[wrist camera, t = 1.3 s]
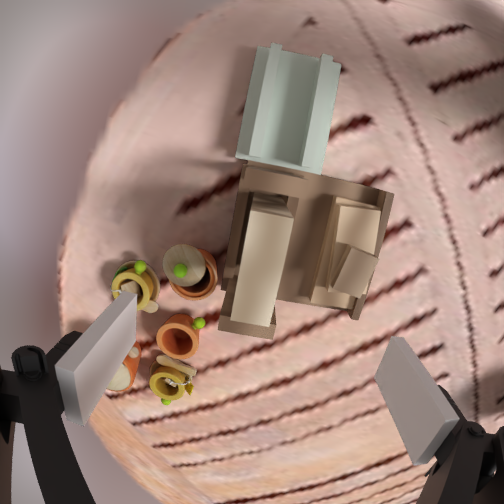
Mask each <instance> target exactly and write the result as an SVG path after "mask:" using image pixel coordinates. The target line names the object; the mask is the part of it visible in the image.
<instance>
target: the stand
mask: <svg viewBox="0 0 504 504" xmlns="http://www.w3.org/2000/svg"><path fill="white" fill-rule="evenodd" d="M281 49H282V44H276V43H271V46H270V48H267V47H261V46H258V47H257V51H256V56H255V60H254V65H253V70H252V75H251V79H250V84H249V89H248V94H247V99H246V104H245V109H244V114H243V119H242V124H241V129H240V134H239V139H238V144H237V150H236V155H235V158H239V159H245V160H251V161H256V162H261V163H266V164H272V165H277V166H282V167H286V168H291V169H296V170H301V171H305V172H310V173H314V174H319V175H321V172H322V167H323V162H324V157H325V152H326V147H327V142H328V137H329V132H330V126H331V121H332V115H333V110H334V104H335V99H336V93H337V87H338V81H339V75H340V69H341V64H340V63H336V62H333V56H331V55H327V54H322V55H321V57H320V58H316V57H312V56H308V55H303V54H299V53H294V52H289V51H284V50H281Z"/></svg>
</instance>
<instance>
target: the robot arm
mask: <svg viewBox="0 0 504 504" xmlns="http://www.w3.org/2000/svg"><path fill="white" fill-rule="evenodd" d="M136 315H137V294H134V293H130V292H126V291H123V292H122V293H121V294H120V295H119V296H118V297H117V298H116V299H115V300H114V301H113V302H112V303H111V304H110V305H109V306H108V307H107V308H106V309H105V311H104V312H103V313H102V314H101V315H100V316H99V317H98V318H97V319H96V320H95V321H94V322H93V323H92V324H91V326H90V327H89V328H88V329H87V330H86V331H85V332H84V333H80V332H77V331H73V332H71V333H69V334H67V335H65V336H64V337H63V338H62V339H61V340H60V341H59V343H57V344H56V345H55V346H54V348H52V349H51V350H50V351H49V352H48V353H47V354H46V355H45V353H44V351H43V350H42V349H41V348H39V347H36V346H28V345H27V346H22V347H20V348H18V349H16V350H15V351H14V352H13V353H12V357H11V358H12V362H13V366H14V370H15V372H13V371H8V370H2V369H1V367H0V504H11V472H12V455H13V441H14V432H15V423H16V422H18V423H22V424H24V428H25V433H26V438H27V442H28V446H29V450H30V454H31V458H32V462H33V466H34V469H35V473H36V476H37V480H38V483H39V486H40V489H41V492H42V495H43V498H44V501H45V504H96V503H95V501H94V499H93V497H92V495H91V493H90V490H89V488H88V486H87V484H86V481H85V479H84V477H83V475H82V472H81V470H80V467H79V465H78V463H77V460H76V457H75V455H74V452H73V450H72V447H71V444H70V441H69V439H68V436H67V433H66V430H65V427H64V424H63V421H62V418H61V414H62V413H63V411H65V415H66V419H67V420H68V421H71V422H73V423H76V424H78V425H81V426H84V425H85V424H86V422H87V420H88V419H89V417H90V415H91V413H92V412H93V410H94V408H95V407H96V405H97V403H98V402H99V400H100V398H101V397H102V395H103V393H104V392H105V390H106V388H107V387H108V385H109V383H110V382H111V380H112V378H113V377H114V375H115V374H116V372H117V370H118V369H119V367H120V365H121V364H122V362H123V361H124V359H125V357H126V356H127V354H128V353H129V351H130V349H131V348H132V346H133V345H134V343H135V342H136ZM374 379H375V381H376V383H377V385H378V387H379V389H380V391H381V394H382V396H383V398H384V400H385V402H386V404H387V407H388V409H389V411H390V413H391V415H392V418H393V420H394V422H395V424H396V427H397V429H398V431H399V433H400V436H401V438H402V440H403V442H404V445H405V447H406V449H407V452H408V454H409V456H410V459H411V461H412V463H413V465H421V464H427V463H428V462H429V461H430V459H431V458H432V457H433V456H434V454H435V456H436V458H437V461H436V462H435V464H434V465H433V466H432V467H431V468H430V470H429V471H428V472H427V473H426V475H425V477H427V476H428V474H429V476H428V479H427V481H426V483H425V486H424V488H423V490H422V492H421V494H420V497H419V499H418V501H417V503H416V504H504V426H502V427H500V428H499V430H498V431H497V433H496V434H489V433H486V432H485V430H484V428H483V427H482V426H481V425H479V424H478V423H475V422H472V421H470V422H467V420H466V419H465V417H464V416H463V414H462V413H461V411H460V410H459V408H458V407H457V405H455V402H454V401H453V399H451V396H450V395H449V394H448V392H447V391H446V390H445V389H444V388H442V387H441V386H440V385H437V384H436V382H435V381H434V380H433V378H432V377H431V375H430V374H429V372H428V371H427V369H426V368H425V367H424V365H423V364H422V362H421V361H420V360H419V358H418V357H417V355H416V354H415V353H414V351H413V350H412V348H411V347H410V346H409V344H408V343H407V342H406V340H405V339H404V337H395V336H391V339H390V341H389V344H388V346H387V349H386V351H385V353H384V356H383V358H382V361H381V363H380V365H379V367H378V370H377V372H376V374H375V376H374ZM495 470H496V473H495V475H494V471H495Z"/></svg>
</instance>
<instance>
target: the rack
mask: <svg viewBox="0 0 504 504" xmlns="http://www.w3.org/2000/svg"><path fill="white" fill-rule="evenodd" d="M254 192H257V193H262V194H267V195H272V196H277V197H282V199H283V200H284V202H285V204H286V206H287V207H288V209H289V211H290V213H291V214H292V216H293V218H294V221H293V226H292V231H291V235H290V240H289V244H288V249H287V253H286V258H285V262H284V266H283V271H282V275H281V279H280V284H279V288H278V292H277V297H276V300H283V301H289V302H295V303H301V304H307V305H313V306H319V307H326V308H332V309H338V310H345V311H347V312H348V314H349V316H350V318H351V319H353V320H359V317H360V314H361V311H362V308H363V305H364V302H365V299H366V296H367V293H368V290H369V286H370V283H371V280H372V277H373V273H374V270H375V267H376V265H377V263H378V261H379V259H378V256H379V253H380V249H381V246H382V242H383V238H384V234H385V231H386V227H387V223H388V219H389V215H390V211H391V206H392V202H393V198H394V194H393V193H390V192H386V191H383V190H379V189H375V188H372V187H368V186H364V185H360V184H356V183H352V182H348V181H344V180H340V179H336V178H332V177H327V176H323V175H319V174H314V173H310V172H305V171H301V170H296V169H291V168H286V167H282V166H277V165H272V164H266V163H261V162H256V161H251V160H248V163H247V164H243V167H242V172H241V177H240V183H239V188H238V194H237V199H236V205H235V210H234V216H233V221H232V227H231V233H230V238H229V244H228V250H227V256H226V262H225V267H224V273H223V279H222V285H221V290H224V291H226V294H225V298H224V302H223V306H222V309H221V313H220V318H219V324H218V330H220V331H226V332H231V333H237V334H242V335H248V336H254V337H260V338H266V339H272V340H273V336H274V332H275V328H276V316H275V305H274V309H273V313H272V317H271V322H270V326H269V327H266V326H260V325H254V324H248V323H243V322H237V321H232V320H230V319H231V313H232V308H233V303H234V297H235V292H236V286H237V281H238V275H239V270H240V265H241V259H242V254H243V249H244V243H245V238H246V233H247V227H248V222H249V217H250V211H251V206H252V202H253V197H254Z"/></svg>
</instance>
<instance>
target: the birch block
mask: <svg viewBox="0 0 504 504" xmlns="http://www.w3.org/2000/svg"><path fill="white" fill-rule="evenodd" d="M293 221H294V218H293V216H292V214H291V213H290V211H289V209H288V207H287V206H286V204H285V202H284V200H283V199H282V197H277V196H272V195H267V194H262V193H257V192H254V197H253V202H252V206H251V211H250V217H249V222H248V227H247V233H246V238H245V243H244V249H243V254H242V259H241V265H240V270H239V275H238V281H237V286H236V292H235V297H234V303H233V308H232V313H231V319H230V320H232V321H237V322H243V323H248V324H254V325H260V326H266V327H269V326H270V322H271V317H272V313H273V309H274V305H275V301H276V297H277V292H278V288H279V284H280V279H281V275H282V271H283V266H284V262H285V258H286V253H287V249H288V244H289V240H290V235H291V231H292V226H293Z"/></svg>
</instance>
